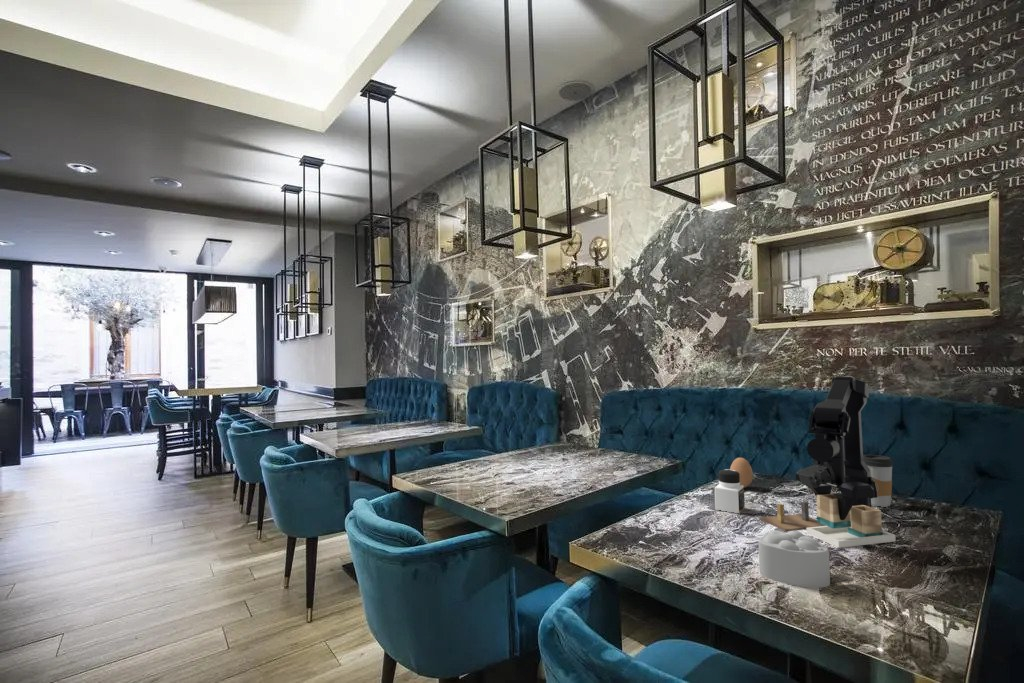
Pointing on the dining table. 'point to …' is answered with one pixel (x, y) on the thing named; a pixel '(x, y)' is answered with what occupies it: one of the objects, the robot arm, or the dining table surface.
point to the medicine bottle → (729, 492)
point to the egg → (743, 471)
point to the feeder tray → (846, 537)
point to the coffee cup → (880, 478)
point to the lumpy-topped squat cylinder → (794, 559)
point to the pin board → (792, 519)
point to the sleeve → (865, 521)
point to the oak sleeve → (830, 512)
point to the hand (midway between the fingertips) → (833, 516)
